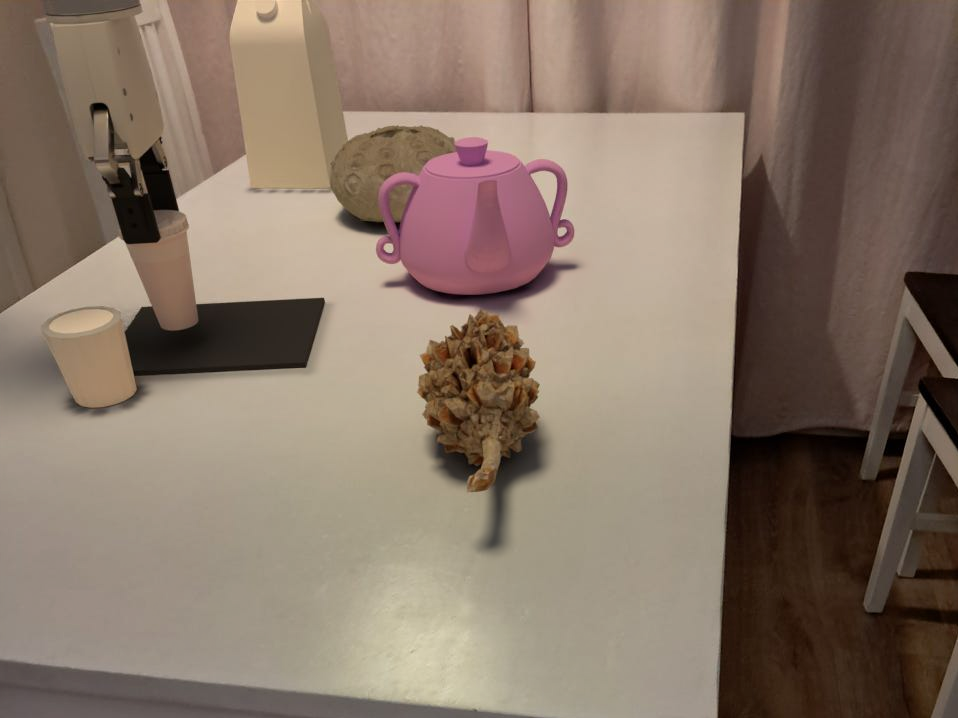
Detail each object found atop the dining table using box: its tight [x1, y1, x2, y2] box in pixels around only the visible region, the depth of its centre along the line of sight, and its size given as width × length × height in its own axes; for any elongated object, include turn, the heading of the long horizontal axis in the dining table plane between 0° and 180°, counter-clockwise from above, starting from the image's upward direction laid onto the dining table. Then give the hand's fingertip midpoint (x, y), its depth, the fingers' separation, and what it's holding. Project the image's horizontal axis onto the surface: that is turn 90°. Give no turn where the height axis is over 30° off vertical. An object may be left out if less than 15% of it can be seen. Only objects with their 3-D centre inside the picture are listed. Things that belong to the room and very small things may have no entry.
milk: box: [229, 0, 349, 189], centre depth 128 cm, size 12×12×26 cm
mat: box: [124, 297, 326, 376], centre depth 94 cm, size 20×16×1 cm
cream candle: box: [41, 305, 138, 409], centre depth 84 cm, size 7×7×7 cm
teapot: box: [375, 136, 575, 296], centre depth 97 cm, size 22×22×14 cm
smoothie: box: [116, 170, 198, 330], centre depth 87 cm, size 6×6×14 cm
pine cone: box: [416, 308, 541, 493], centre depth 69 cm, size 22×10×10 cm, turn 6°
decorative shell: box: [330, 124, 457, 224], centre depth 118 cm, size 18×18×10 cm
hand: (152, 227), depth 85 cm, fingers closed on smoothie, 6 cm apart
